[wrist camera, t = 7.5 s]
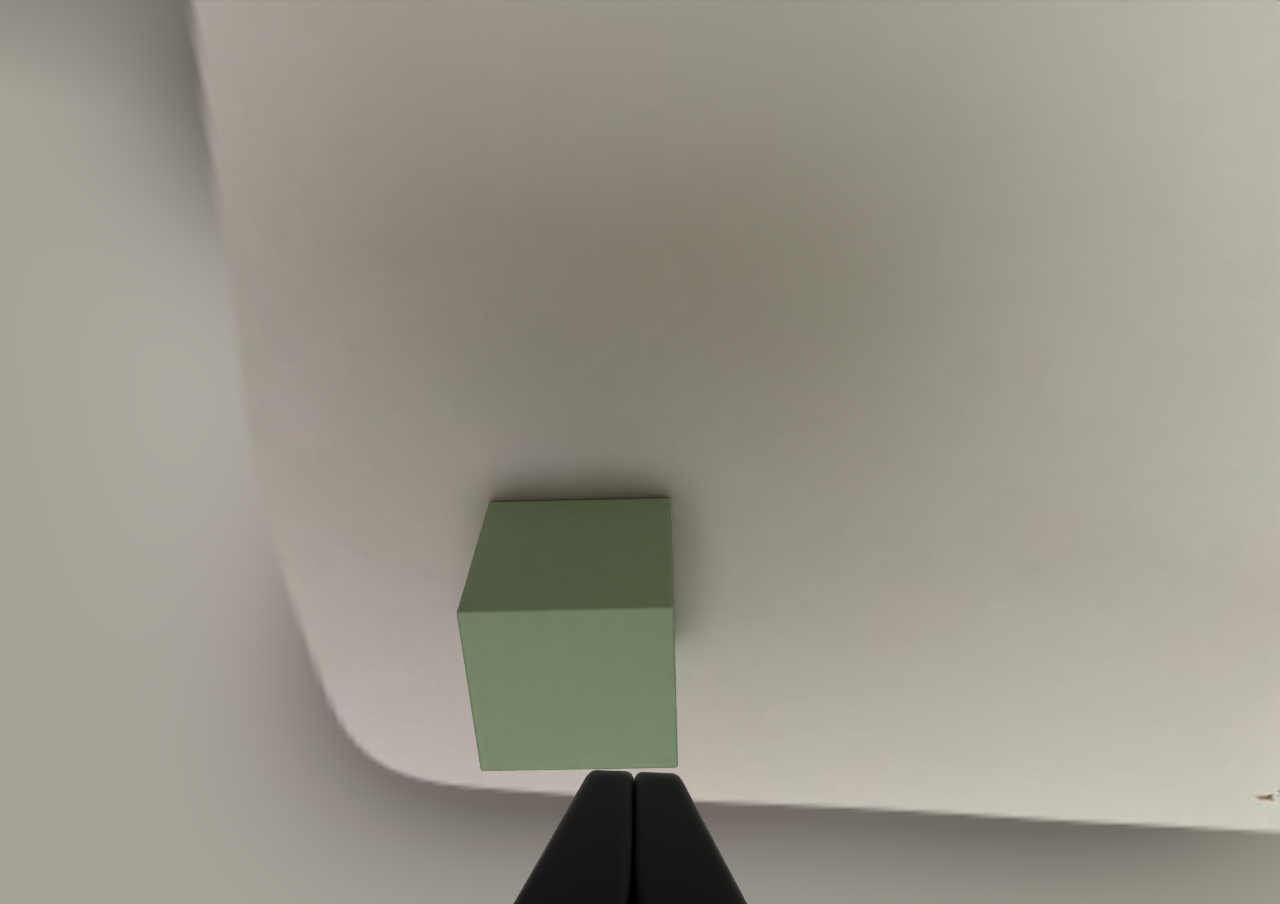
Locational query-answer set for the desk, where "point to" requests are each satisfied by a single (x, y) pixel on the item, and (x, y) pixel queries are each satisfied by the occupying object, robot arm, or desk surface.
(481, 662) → the block
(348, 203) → the desk surface
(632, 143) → the desk surface
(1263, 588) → the desk surface
